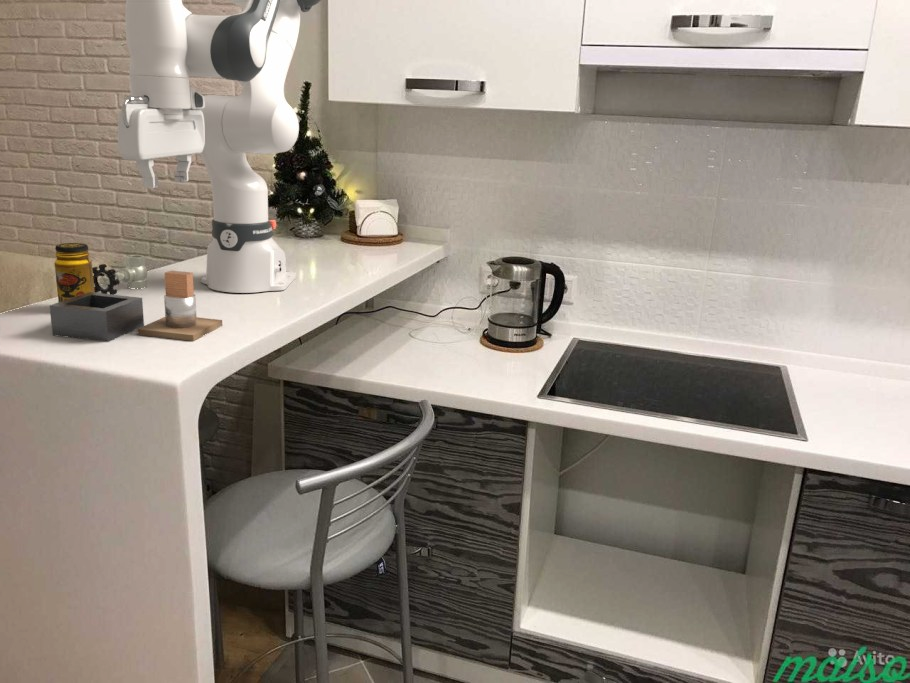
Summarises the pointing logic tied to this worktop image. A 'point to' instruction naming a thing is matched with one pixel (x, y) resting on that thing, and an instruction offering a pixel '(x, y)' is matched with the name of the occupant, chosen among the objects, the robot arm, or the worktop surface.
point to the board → (180, 329)
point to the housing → (97, 316)
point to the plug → (179, 300)
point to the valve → (122, 275)
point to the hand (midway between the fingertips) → (166, 185)
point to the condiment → (73, 270)
